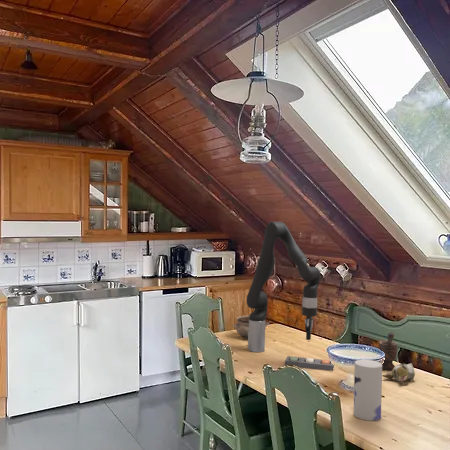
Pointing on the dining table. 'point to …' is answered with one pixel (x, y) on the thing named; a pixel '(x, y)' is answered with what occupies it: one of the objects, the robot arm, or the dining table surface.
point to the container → (367, 389)
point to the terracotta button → (325, 362)
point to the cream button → (309, 360)
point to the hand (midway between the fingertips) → (308, 339)
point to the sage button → (294, 358)
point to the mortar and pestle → (388, 351)
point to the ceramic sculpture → (401, 373)
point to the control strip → (309, 364)
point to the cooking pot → (243, 326)
